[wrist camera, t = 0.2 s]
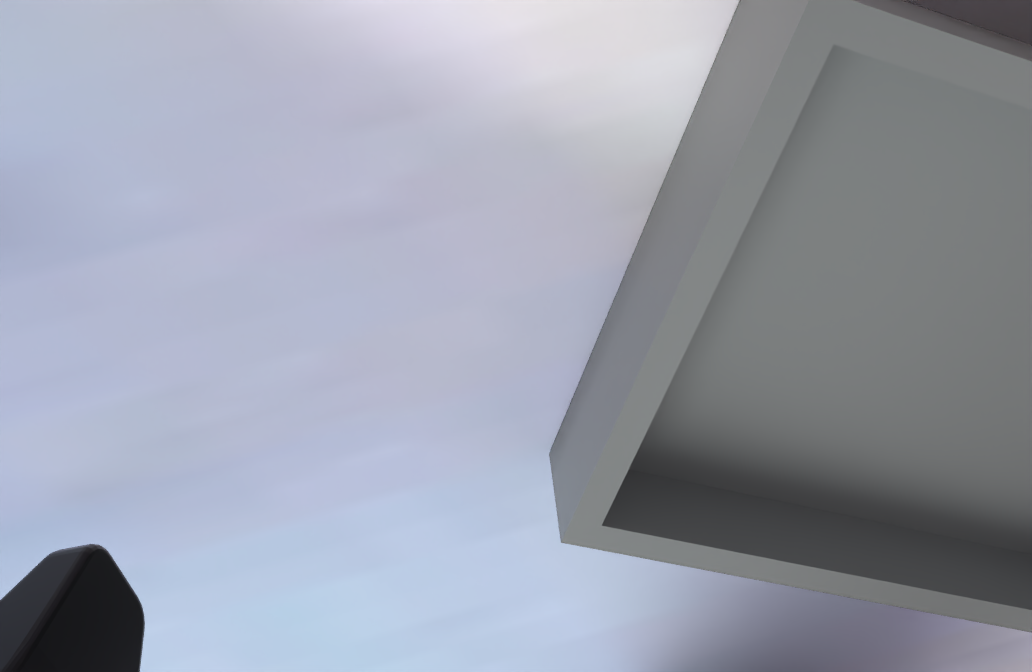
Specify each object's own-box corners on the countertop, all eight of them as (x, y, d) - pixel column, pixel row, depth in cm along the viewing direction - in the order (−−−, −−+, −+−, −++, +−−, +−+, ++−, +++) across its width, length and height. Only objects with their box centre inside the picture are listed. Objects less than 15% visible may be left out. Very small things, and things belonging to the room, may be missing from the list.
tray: (1074, 564, 30) (1142, 653, 27) (549, 453, 26) (561, 542, 24) (1409, 175, 23) (1548, 237, 20) (760, -49, 20) (815, -13, 17)
